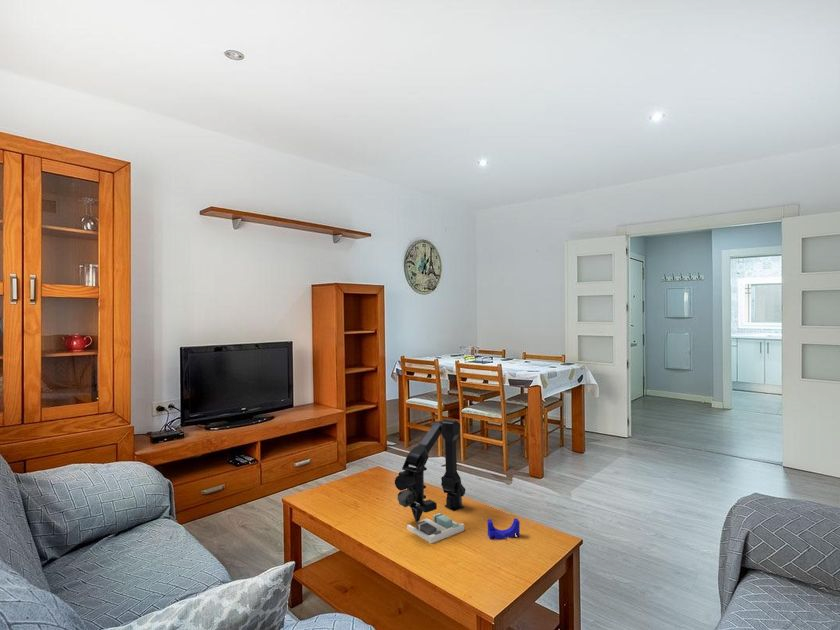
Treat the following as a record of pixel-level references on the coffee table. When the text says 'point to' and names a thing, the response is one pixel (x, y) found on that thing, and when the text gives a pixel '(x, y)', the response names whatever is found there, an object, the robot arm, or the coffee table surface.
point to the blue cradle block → (501, 534)
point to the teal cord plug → (442, 520)
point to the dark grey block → (426, 528)
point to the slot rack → (440, 532)
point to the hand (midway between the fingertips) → (417, 521)
